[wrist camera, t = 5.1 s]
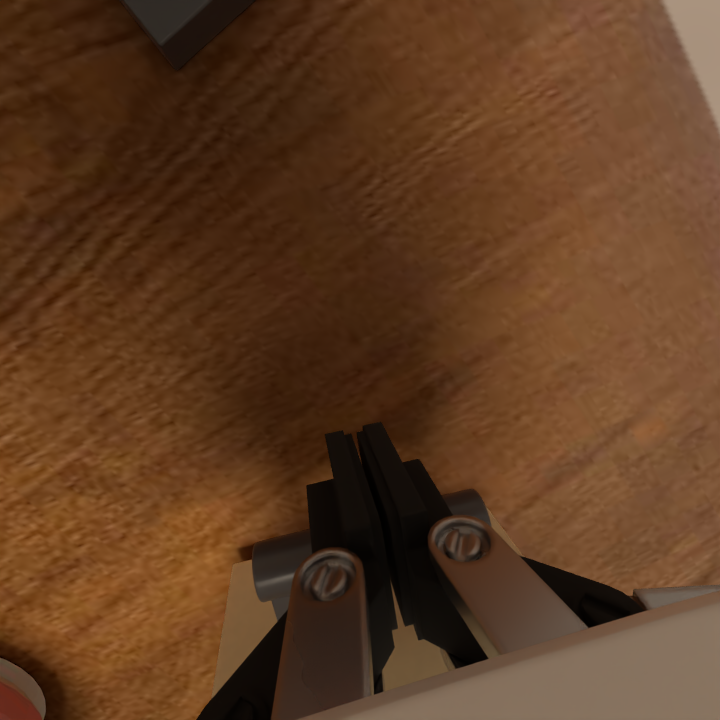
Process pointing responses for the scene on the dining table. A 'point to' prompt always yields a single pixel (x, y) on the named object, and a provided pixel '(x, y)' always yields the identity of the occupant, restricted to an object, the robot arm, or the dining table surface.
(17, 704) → the container
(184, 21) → the button box
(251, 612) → the drawer
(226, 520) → the dining table surface
